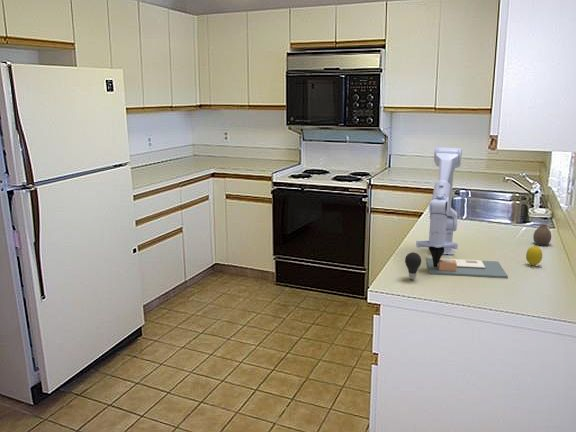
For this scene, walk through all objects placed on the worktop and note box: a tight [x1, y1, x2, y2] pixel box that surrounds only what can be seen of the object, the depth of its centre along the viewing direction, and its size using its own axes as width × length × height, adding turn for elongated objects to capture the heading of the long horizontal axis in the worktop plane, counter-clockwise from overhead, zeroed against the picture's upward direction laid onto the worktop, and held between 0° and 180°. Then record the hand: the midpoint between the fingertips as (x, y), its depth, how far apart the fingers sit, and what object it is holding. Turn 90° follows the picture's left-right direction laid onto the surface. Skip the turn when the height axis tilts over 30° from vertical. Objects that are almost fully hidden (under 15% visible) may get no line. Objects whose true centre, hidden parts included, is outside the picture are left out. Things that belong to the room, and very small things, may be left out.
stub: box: [438, 258, 457, 271], centre depth 186 cm, size 4×6×3 cm, turn 80°
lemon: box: [525, 245, 543, 267], centre depth 191 cm, size 6×6×8 cm
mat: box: [425, 257, 509, 279], centre depth 189 cm, size 16×27×1 cm, turn 80°
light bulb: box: [404, 252, 422, 280], centre depth 178 cm, size 6×6×10 cm
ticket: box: [437, 258, 485, 269], centre depth 192 cm, size 8×18×1 cm, turn 79°
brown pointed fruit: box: [532, 223, 552, 247], centre depth 217 cm, size 7×7×9 cm
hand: (435, 266), depth 187 cm, fingers closed
